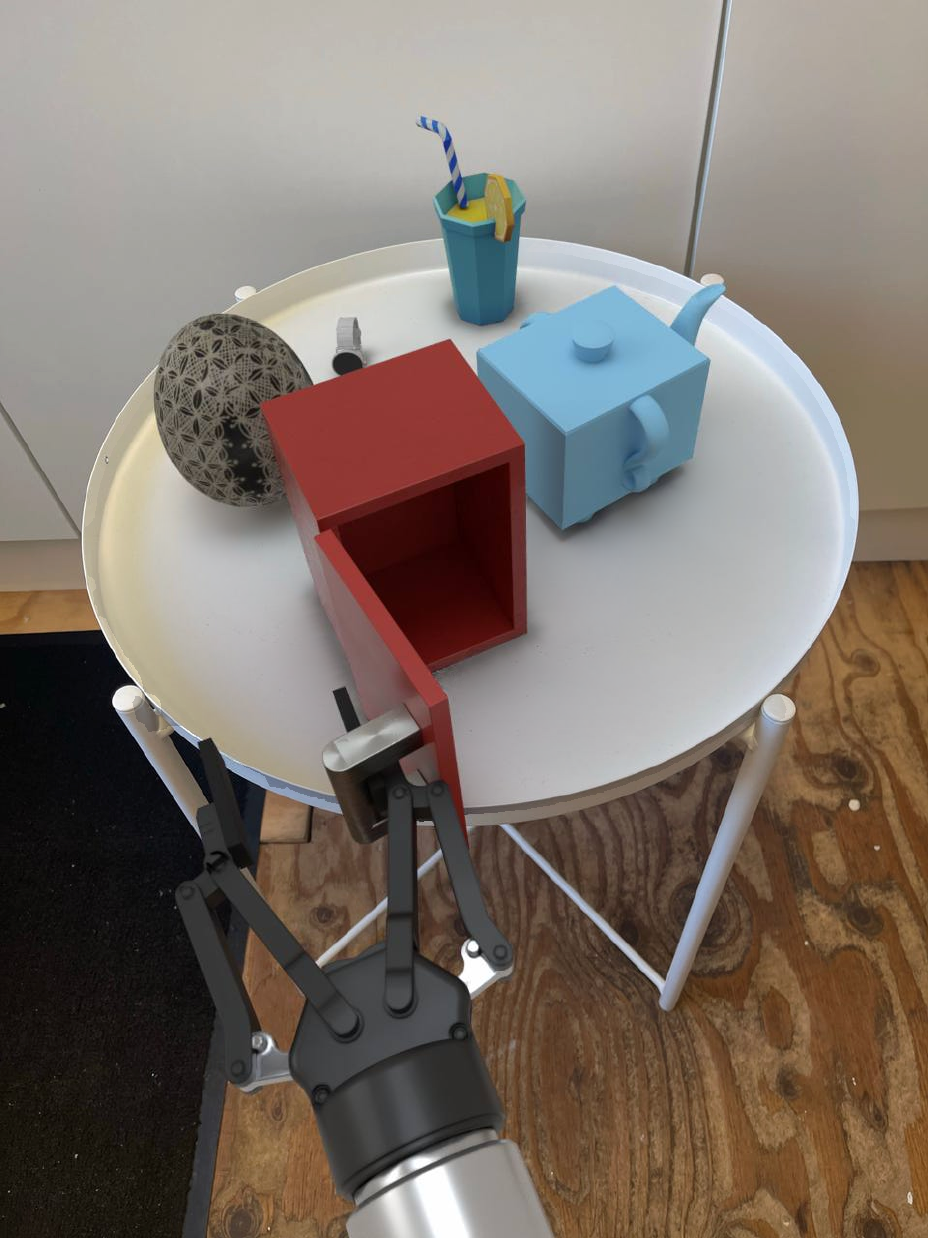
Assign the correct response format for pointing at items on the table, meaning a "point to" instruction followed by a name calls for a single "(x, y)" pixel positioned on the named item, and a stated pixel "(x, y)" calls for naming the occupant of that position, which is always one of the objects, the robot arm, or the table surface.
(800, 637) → the table surface
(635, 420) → the teapot
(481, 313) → the cup
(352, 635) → the cabinet door
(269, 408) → the red cabinet body
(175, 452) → the decorative egg
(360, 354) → the wristwatch
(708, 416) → the table surface
